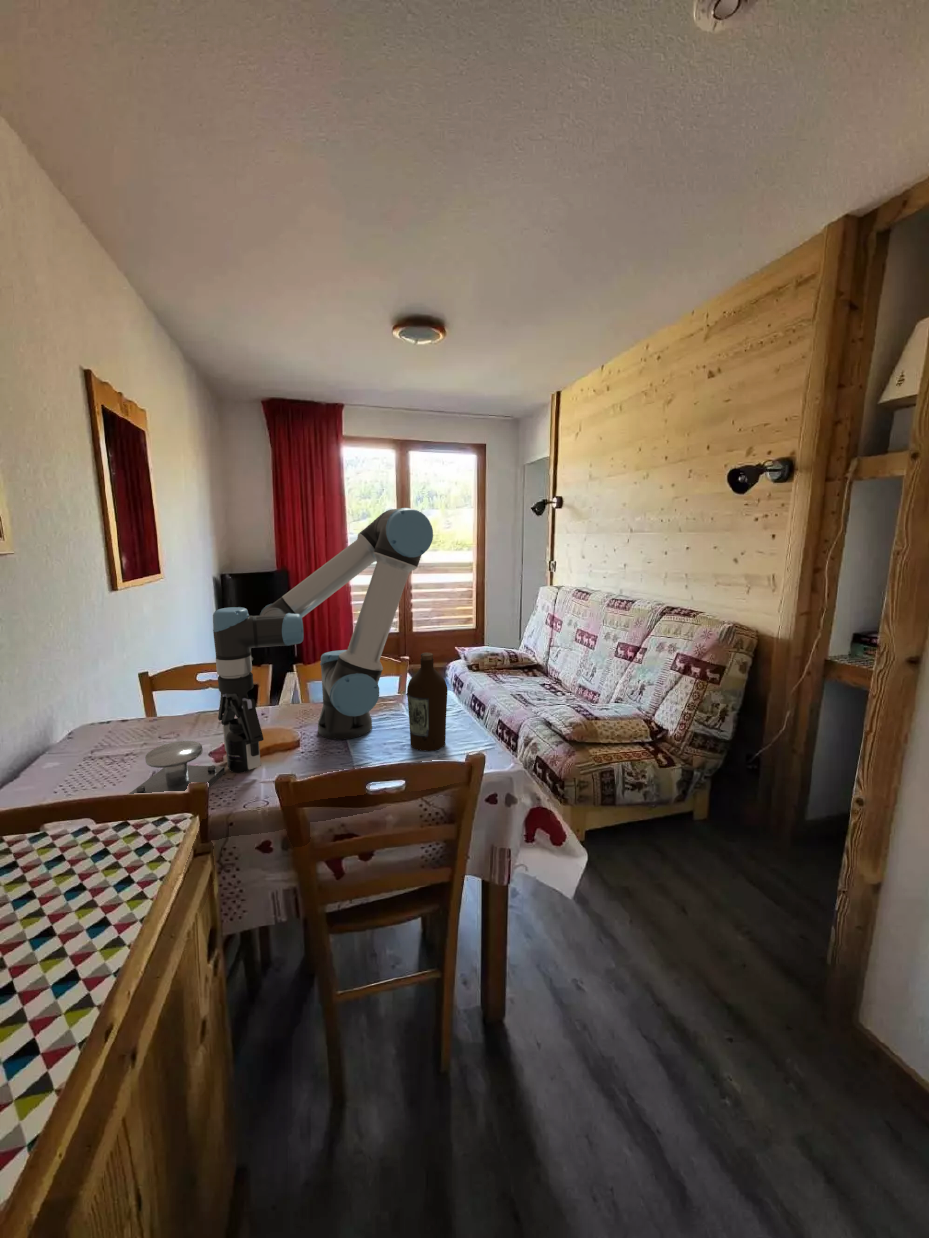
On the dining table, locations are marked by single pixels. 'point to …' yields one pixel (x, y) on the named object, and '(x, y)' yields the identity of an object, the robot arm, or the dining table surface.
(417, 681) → the olive oil
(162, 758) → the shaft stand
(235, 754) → the supplement bottle
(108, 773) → the dining table surface
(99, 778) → the dining table surface
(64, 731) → the dining table surface
